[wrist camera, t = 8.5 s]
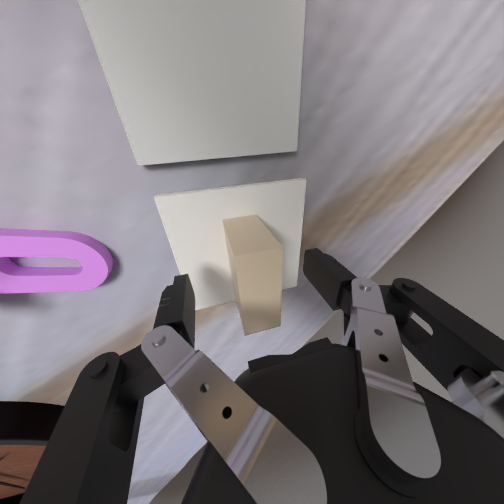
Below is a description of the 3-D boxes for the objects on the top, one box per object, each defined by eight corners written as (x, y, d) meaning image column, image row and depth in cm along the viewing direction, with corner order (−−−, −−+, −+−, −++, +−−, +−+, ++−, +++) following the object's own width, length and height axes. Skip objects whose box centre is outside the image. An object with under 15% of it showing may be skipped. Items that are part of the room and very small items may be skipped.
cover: (155, 194, 11) (124, 230, 6) (302, 177, 13) (360, 195, 8) (193, 305, 16) (191, 369, 12) (294, 282, 18) (326, 329, 14)
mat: (19, -181, 7) (-3, -221, 7) (304, -122, 10) (314, -147, 9) (141, 164, 14) (137, 165, 13) (292, 150, 17) (297, 151, 16)
